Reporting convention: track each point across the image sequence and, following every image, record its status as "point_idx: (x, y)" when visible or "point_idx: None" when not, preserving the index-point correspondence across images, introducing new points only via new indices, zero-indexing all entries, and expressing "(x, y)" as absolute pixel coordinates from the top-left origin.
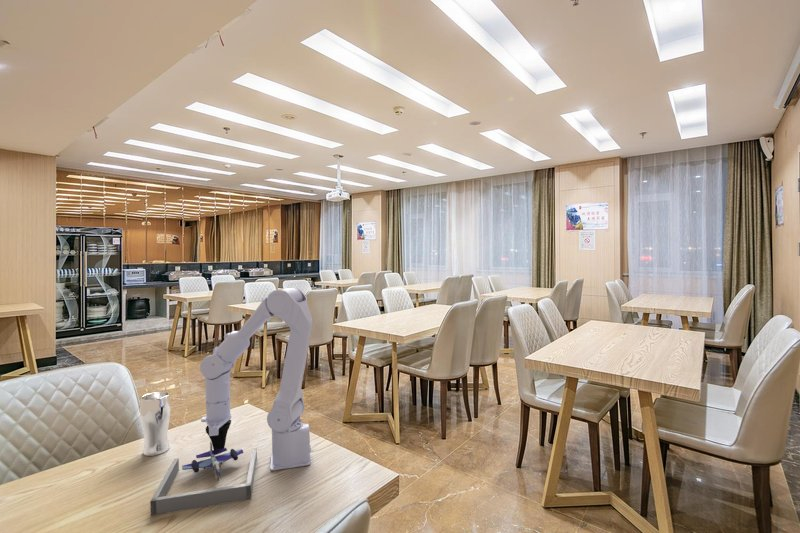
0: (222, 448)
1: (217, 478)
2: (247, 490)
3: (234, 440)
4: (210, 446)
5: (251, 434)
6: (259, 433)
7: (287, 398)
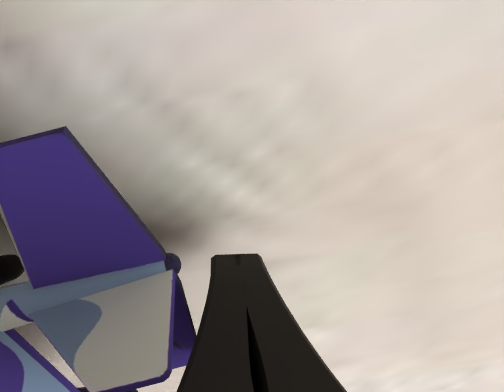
0: (192, 344)
1: None
2: None
3: (475, 282)
4: (134, 329)
5: (488, 346)
6: (468, 373)
7: None
